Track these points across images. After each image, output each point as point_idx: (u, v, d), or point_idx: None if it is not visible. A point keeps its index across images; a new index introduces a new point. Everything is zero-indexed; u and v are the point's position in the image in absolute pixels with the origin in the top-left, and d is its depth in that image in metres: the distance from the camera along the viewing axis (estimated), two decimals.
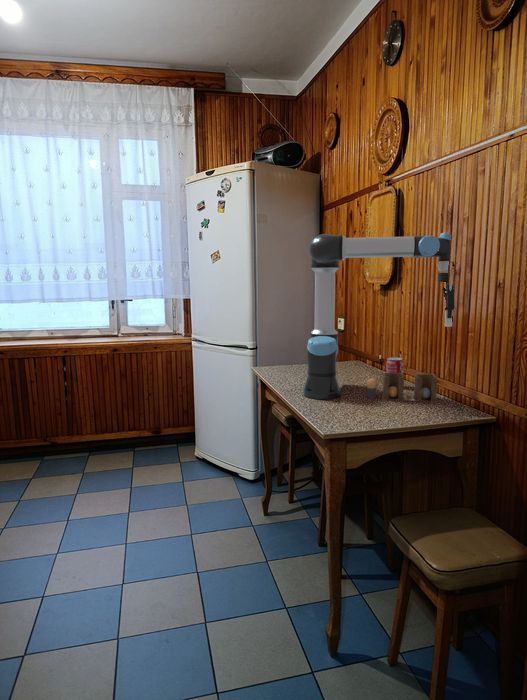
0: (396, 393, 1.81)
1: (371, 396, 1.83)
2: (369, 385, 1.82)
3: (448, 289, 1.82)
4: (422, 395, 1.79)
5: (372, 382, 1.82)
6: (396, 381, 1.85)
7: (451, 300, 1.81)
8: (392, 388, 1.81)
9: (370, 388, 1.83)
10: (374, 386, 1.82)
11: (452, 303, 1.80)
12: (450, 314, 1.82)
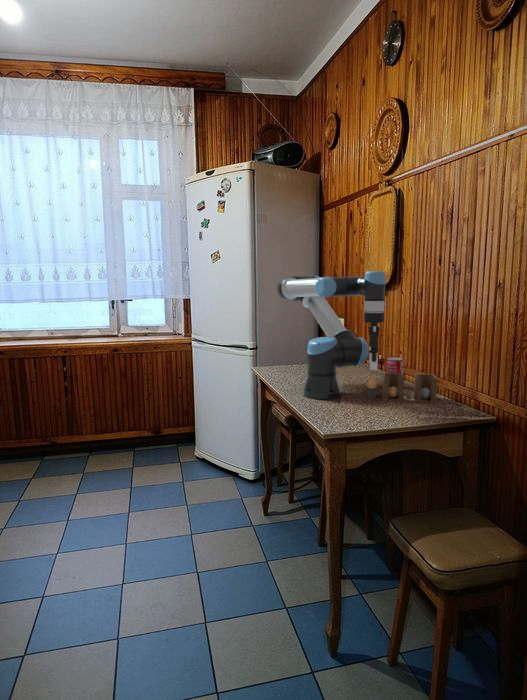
0: (396, 393, 1.81)
1: (371, 396, 1.83)
2: (369, 385, 1.82)
3: (372, 331, 1.73)
4: (422, 395, 1.79)
5: (372, 382, 1.82)
6: (396, 381, 1.85)
7: (375, 343, 1.72)
8: (392, 388, 1.81)
9: (370, 388, 1.83)
10: (374, 386, 1.82)
11: (375, 346, 1.72)
12: (374, 357, 1.73)
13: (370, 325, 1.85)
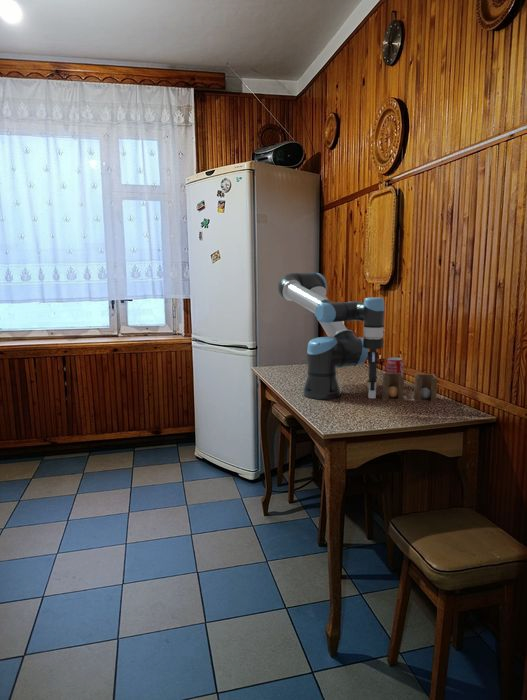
0: (396, 393, 1.81)
1: None
2: None
3: (371, 362, 1.76)
4: (422, 395, 1.79)
5: None
6: (396, 381, 1.85)
7: (373, 374, 1.77)
8: (392, 388, 1.81)
9: None
10: None
11: (374, 377, 1.77)
12: (373, 386, 1.80)
13: None
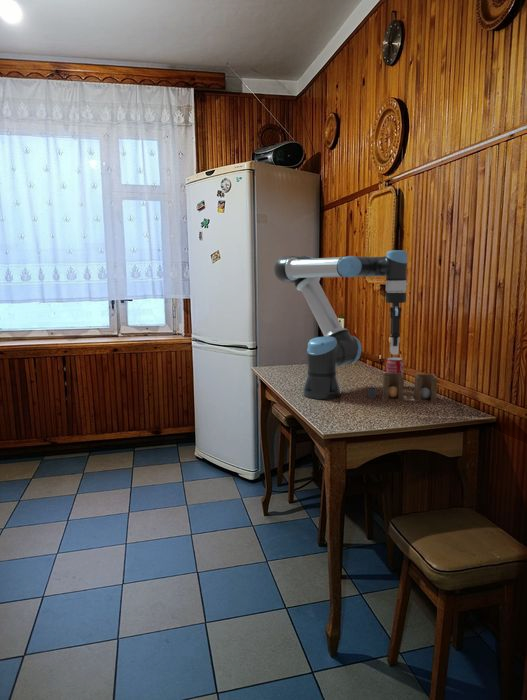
0: (396, 393, 1.81)
1: (371, 396, 1.83)
2: None
3: (394, 315, 1.72)
4: (422, 395, 1.79)
5: None
6: (396, 381, 1.85)
7: (396, 328, 1.73)
8: (392, 388, 1.81)
9: None
10: None
11: (397, 331, 1.73)
12: (395, 342, 1.75)
13: None
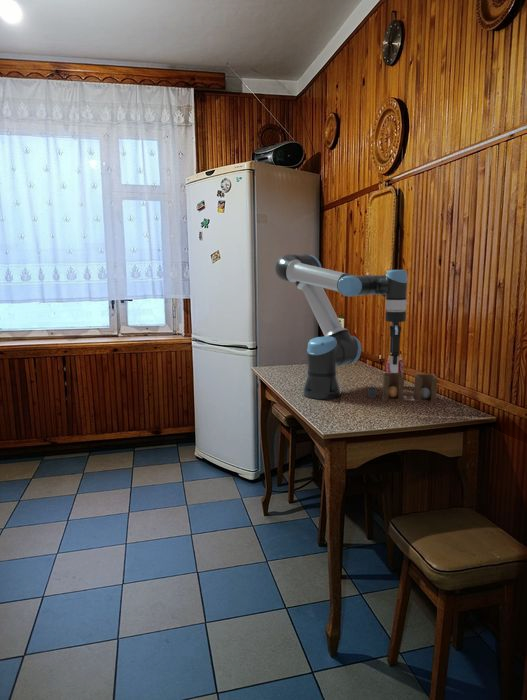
0: (396, 393, 1.81)
1: (371, 396, 1.83)
2: None
3: (394, 334, 1.73)
4: (422, 395, 1.79)
5: None
6: (396, 381, 1.85)
7: (396, 347, 1.74)
8: (392, 388, 1.81)
9: None
10: None
11: (397, 350, 1.74)
12: (395, 360, 1.76)
13: None
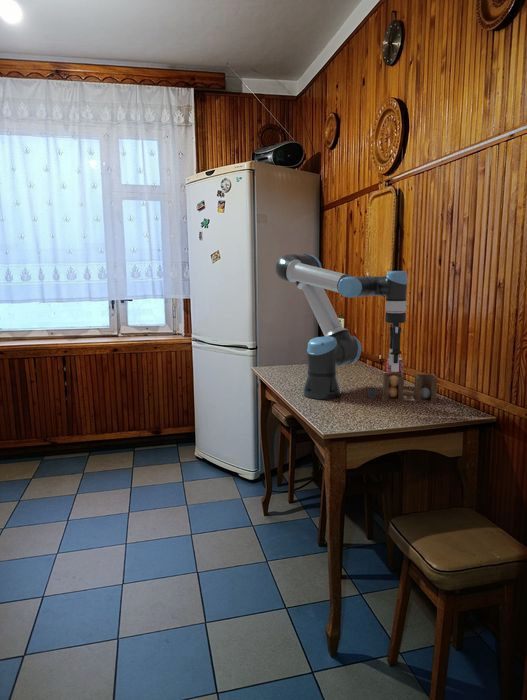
0: (396, 393, 1.81)
1: (371, 396, 1.83)
2: (391, 382, 1.80)
3: (394, 332, 1.72)
4: (422, 395, 1.79)
5: (394, 379, 1.80)
6: None
7: (397, 345, 1.71)
8: (392, 388, 1.81)
9: (391, 385, 1.81)
10: (396, 383, 1.80)
11: (397, 348, 1.71)
12: (396, 359, 1.73)
13: (391, 326, 1.84)
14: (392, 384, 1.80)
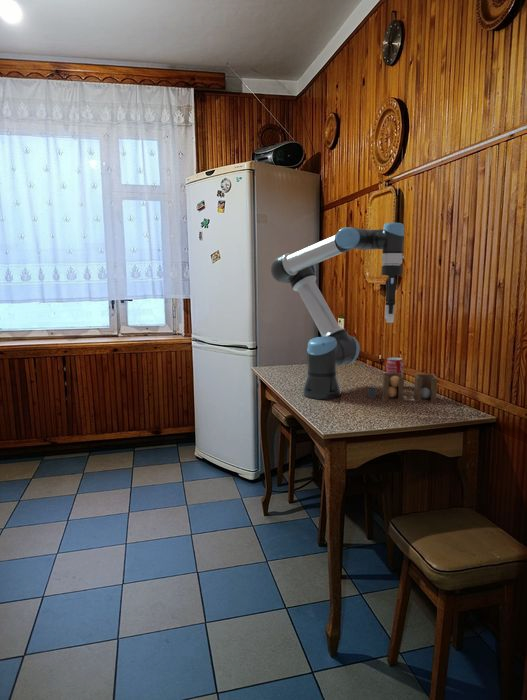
0: (394, 392, 1.81)
1: (371, 396, 1.83)
2: (394, 378, 1.81)
3: (389, 283, 1.72)
4: (422, 395, 1.79)
5: (398, 379, 1.81)
6: None
7: (392, 295, 1.71)
8: (389, 388, 1.81)
9: (391, 381, 1.81)
10: (396, 383, 1.80)
11: (393, 298, 1.71)
12: (391, 309, 1.73)
13: (387, 279, 1.84)
14: (393, 381, 1.81)
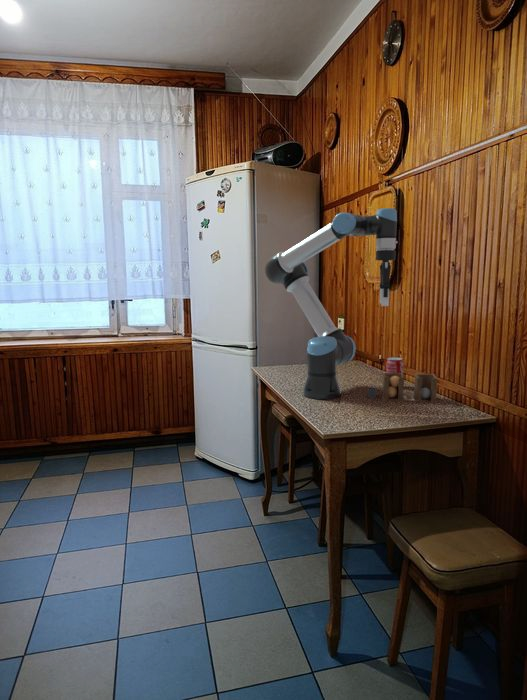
0: (394, 392, 1.81)
1: (371, 396, 1.83)
2: (394, 378, 1.81)
3: (384, 267, 1.76)
4: (422, 395, 1.79)
5: (398, 379, 1.81)
6: None
7: (386, 279, 1.74)
8: (389, 388, 1.81)
9: (391, 381, 1.81)
10: (396, 383, 1.80)
11: (387, 281, 1.74)
12: (386, 293, 1.76)
13: (381, 265, 1.88)
14: (393, 381, 1.81)
